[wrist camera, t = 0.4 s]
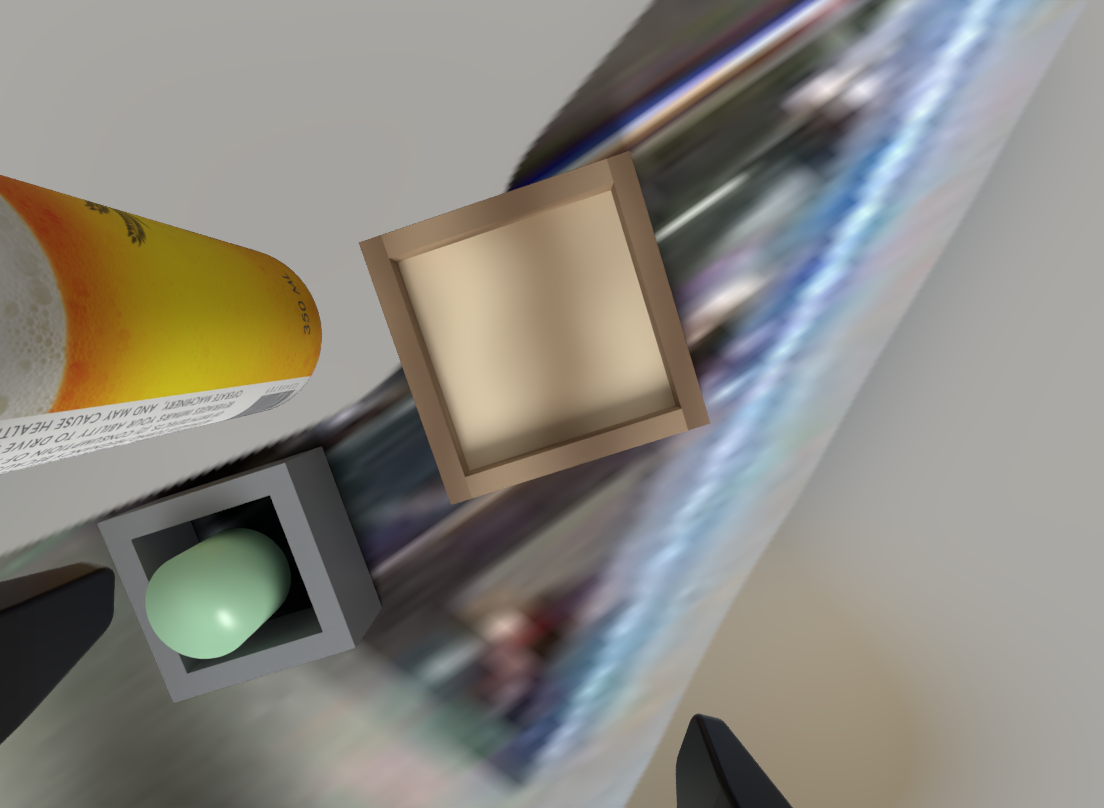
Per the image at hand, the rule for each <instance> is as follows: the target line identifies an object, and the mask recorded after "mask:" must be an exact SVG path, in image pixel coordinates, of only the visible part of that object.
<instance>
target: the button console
mask: <svg viewBox="0 0 1104 808" xmlns="http://www.w3.org/2000/svg"><path fill="white" fill-rule="evenodd" d="M269 495H270V497H271V499H272V502H273V504H274V507H275V510H276V512H277V515H278V517H279V520H280V522H281V525H282V528H283V530H284V533H285V535H286V538H287V541H288V543H289V546H290V548H291V551H292V553H293V556H294V559H295V561H296V564H297V566H298V569H299V572H300V574H301V577H302V579H303V582H304V584H305V587H306V590H307V592H308V595H309V597H310V600H311V602H312V605H313V607H310V608H307V609H304V610H300V611H297V612H294V613H291V614H287V615H284V616H281V617H278V618H274V619H271V620H268V621H265V622H264V623H263V624H262V625H261V626H260V627H259V628H258V629H257V630H256V631H255V632H254V633H253V634H252V635H251V636H250V637H249V638H248V639H247V640H245V641H244V642H243V643H242V644H241V645H240V646H239V647H238V648H237V649H235V650H234V651H232V652H230V653H228V654H226V655H224V656H221V657H217V658H210V659H199V658H192V657H189V656H185V655H183V654H180V653H178V652H176V651H174V650H173V649H171V648H170V647H168V646H167V645H166V644H165V643H164V642H163V641H162V640H161V639H160V638H159V637H158V636H157V635H156V633H155V632H154V630H153V629H152V627H151V625H150V623H149V620H148V617H147V613H146V607H145V597H146V591H147V587H148V584H149V582H150V580H151V578H152V576H153V575H154V573H155V572H156V571H157V570H158V569H159V567H160V566H161V565H163V564H164V563H165V562H167V561H168V560H170V559H172V558H174V557H176V556H177V555H179V554H181V553H183V552H184V551H186V550H188V549H190V548H191V547H193V546H195V545H197V544H199V540H198V538H197V535H196V533H195V530H194V528H193V525H192V523H191V520H194V519H197V518H200V517H203V516H206V515H210V514H213V513H216V512H219V511H222V510H225V509H228V508H231V507H235V506H238V505H241V504H244V503H247V502H250V501H253V500H256V499H260V498H263V497H266V496H269ZM97 524H98V527H99V529H100V532H101V534H102V536H103V539H104V541H105V543H106V546H107V548H108V550H109V553H110V555H111V557H112V560H113V562H114V565H115V567H116V569H117V572H118V574H119V576H120V579H121V581H122V583H123V586H124V588H125V590H126V593H127V595H128V598H129V600H130V602H131V605H132V607H133V609H134V612H135V614H136V616H137V619H138V621H139V623H140V626H141V628H142V631H143V633H144V635H145V638H146V640H147V642H148V645H149V647H150V649H151V652H152V654H153V656H154V659H155V661H156V664H157V666H158V668H159V671H160V673H161V675H162V678H163V680H164V682H165V685H166V687H167V690H168V692H169V694H170V697H171V699H172V701H173V703H176V702H179V701H183V700H186V699H189V698H193V697H196V696H199V695H202V694H206V693H209V692H212V691H216V690H219V689H222V688H225V687H229V686H232V685H235V684H239V683H242V682H245V681H248V680H252V679H255V678H258V677H262V676H265V675H268V674H271V673H275V672H278V671H281V670H284V669H288V668H291V667H294V666H298V665H301V664H304V663H307V662H311V661H314V660H317V659H321V658H324V657H327V656H330V655H334V654H337V653H340V652H344V651H347V650H350V649H353V648H356V646H357V645H358V643H359V642H360V640H361V639H362V637H363V636H364V634H365V633H366V631H367V630H368V628H369V627H370V625H371V624H372V622H373V621H374V619H375V618H376V616H377V615H378V613H379V612H380V610H381V609H382V606H381V603H380V601H379V598H378V595H377V593H376V590H375V587H374V585H373V582H372V579H371V577H370V574H369V571H368V569H367V566H366V563H365V561H364V558H363V555H362V553H361V550H360V547H359V545H358V542H357V539H356V537H355V534H354V531H353V528H352V526H351V523H350V520H349V518H348V515H347V512H346V510H345V507H344V504H343V502H342V499H341V496H340V494H339V491H338V488H337V486H336V483H335V480H334V478H333V475H332V472H331V470H330V467H329V464H328V462H327V459H326V456H325V454H324V451H323V448H322V446H321V447H318V448H315V449H312V450H309V451H306V452H303V453H299V454H296V455H293V456H290V457H287V458H284V459H281V460H278V461H275V462H272V463H269V464H265V465H262V466H259V467H256V468H253V469H250V470H247V471H244V472H241V473H238V474H234V475H231V476H228V477H225V478H222V479H219V480H216V481H213V482H210V483H207V484H204V485H200V486H197V487H194V488H191V489H188V490H185V491H182V492H179V493H176V494H173V495H169V496H166V497H163V498H160V499H157V500H155V501H152V502H150V503H147V504H145V505H142V506H140V507H137V508H135V509H132V510H130V511H127V512H125V513H122V514H120V515H117V516H114V517H112V518H109V519H107V520H104V521H102V522H99V523H97Z"/></svg>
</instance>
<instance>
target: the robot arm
mask: <svg viewBox="0 0 1104 808" xmlns="http://www.w3.org/2000/svg"><path fill="white" fill-rule="evenodd" d="M114 587H115V575H114V573H113V571H112V570H111V569H110V568H108V567H105V566H101V565H97V564H93V563H88V562H80V563H76V564H72V565H67V566H63V567H59V568H55V569H51V570H47V571H43V572H39V573H35V574H31V575H27V576H23V577H18V578H14V579H10V580H6V581H2V582H0V744H1V743H2V742H4V741H5V740H6V739H7V738H8V737H9V736H10V735H11V734H12V733H13V732H14V731H15V730H16V729H17V728H18V727H19V726H20V725H21V724H22V723H23V721H24V720H25V719H26V718H27V717H28V716H29V715H30V714H31V713H32V712H33V711H34V710H35V709H36V708H37V707H38V706H39V704H40V703H41V702H42V701H43V700H44V699H45V698H46V697H47V696H48V694H49V693H50V692H51V691H52V690H53V689H54V688H55V687H56V686H57V684H58V683H59V682H60V681H61V680H62V679H63V678H64V677H65V676H66V674H67V673H68V672H69V671H70V670H71V669H72V668H73V667H74V666H75V664H76V663H77V662H78V661H79V660H80V659H81V658H82V657H83V656H84V655H85V653H86V652H87V651H88V650H89V649H90V648H91V647H92V646H93V645H94V643H95V642H96V641H97V640H98V639H99V638H100V637H101V636H102V635H103V633H104V632H105V631H106V630H107V628H108V626H109V625H110V623H111V621H112V618H113V613H114ZM676 793H677V808H793V807H792V806H791V805H790V804H789V802H788V801H787V800H786V799H785V797H784V796H783V795H782V794H781V792H780V791H779V790H778V789H777V787H776V786H775V785H774V784H773V782H772V781H771V780H770V779H769V777H768V776H767V775H766V774H765V772H764V771H763V770H762V769H761V767H760V766H759V765H758V763H757V762H756V761H755V760H754V759H753V757H752V756H751V755H750V754H749V752H748V751H747V750H746V749H745V747H744V746H743V745H742V743H741V742H740V741H739V740H738V738H737V737H736V736H735V735H734V734H733V732H732V731H731V730H730V729H729V727H728V726H727V725H726V724H725V723H724V721H722V720H721V719H719V718H715V717H711V716H707V715H703V714H696V715H694V716H693V717H692V719H691V721H690V723H689V726H688V729H687V732H686V734H685V737H684V740H683V743H682V746H681V748H680V751H679V754H678V757H677V763H676Z"/></svg>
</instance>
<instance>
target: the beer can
mask: <svg viewBox="0 0 1104 808" xmlns="http://www.w3.org/2000/svg"><path fill="white" fill-rule="evenodd" d="M321 342H322V329H321V322H320V317H319V313H318V310H317V307H316V304H315V301H314V299H313V297H312V295H311V293H310V292H309V290H308V289H307V287H306V285H305V284H304V283H303V282H302V280H301V279H300V278H299V277H298V276H297V275H296V274H295V273H294V272H293V271H292V270H291V269H290V268H288V267H287V266H286V265H285V264H283V263H282V262H280V261H278V260H277V259H275V258H273V257H271V256H269V255H267V254H264V253H261V252H258V251H254V250H252V249H248V248H245V247H241V246H238V245H235V244H231V243H228V242H224V241H221V240H218V239H214V238H211V237H207V236H204V235H201V234H198V233H194V232H191V231H188V230H184V229H180V228H177V227H174V226H171V225H167V224H164V223H160V222H157V221H154V220H150V219H147V218H144V217H140V216H137V215H134V214H130V213H127V212H124V211H120V210H117V209H113V208H110V207H107V206H103V205H100V204H96V203H93V202H90V201H86V200H83V199H79V198H76V197H72V196H70V195H66V194H63V193H59V192H56V191H53V190H49V189H46V188H42V187H39V186H36V185H33V184H29V183H25V182H22V181H19V180H16V179H12V178H9V177H5V176H2V175H0V474H3V473H8V472H11V471H16V470H20V469H24V468H28V467H32V466H37V465H41V464H45V463H49V462H54V461H58V460H62V459H66V458H70V457H75V456H79V455H83V454H87V453H91V452H95V451H99V450H103V449H108V448H112V447H116V446H120V445H124V444H129V443H133V442H137V441H141V440H145V439H149V438H154V437H158V436H162V435H166V434H170V433H174V432H179V431H183V430H187V429H191V428H195V427H200V426H204V425H208V424H212V423H216V422H221V421H225V420H229V419H233V418H237V417H241V416H246V415H250V414H253V413H258V412H262V411H266V410H270V409H272V408H275V407H277V406H279V405H281V404H283V403H285V402H287V401H288V400H289V399H291V398H292V397H293V396H295V395H296V394H297V393H298V392H299V391H300V390H301V389H302V388H303V387H304V385H305V384H306V383H307V381H308V380H309V378H310V377H311V375H312V373H313V371H314V369H315V367H316V364H317V361H318V359H319V355H320V350H321Z"/></svg>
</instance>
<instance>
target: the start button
mask: <svg viewBox="0 0 1104 808" xmlns="http://www.w3.org/2000/svg"><path fill="white" fill-rule="evenodd" d="M290 585H291V572H290V567H289V563H288V561H287V558H286V556H285V554H284V553H283V551H282V550H281V549H280V547H279V546H278V545H277V544H276V543H275V542H274V541H273V540H272V539H270V538H269V537H268V536H266V535H264V534H262V533H260V532H258V531H255V530H251V529H246V528H232V529H227V530H223V531H221V532H218V533H216V534H215V535H213V536H211V537H209V538H207V539H206V540H204V541H202V542H200V543H199V544H197V545H195V546H193V547H191V548H190V549H188V550H186V551H184V552H183V553H181V554H179V555H177V556H176V557H174V558H172V559H170V560H168V561H167V562H165V563H164V564H163V565H161V566H160V567H159V569H158V570H157V571H156V572H155V573H154V575H153V576H152V578H151V580H150V582H149V584H148V587H147V591H146V597H145V607H146V613H147V617H148V620H149V623H150V625H151V627H152V629H153V630H154V632H155V633H156V635H157V636H158V637H159V638H160V639H161V640H162V641H163V642H164V643H165V644H166V645H167V646H168V647H170V648H171V649H173V650H174V651H176V652H178V653H180V654H183V655H185V656H189V657H192V658H199V659H210V658H217V657H221V656H224V655H226V654H228V653H230V652H232V651H234V650H235V649H237V648H238V647H239V646H240V645H241V644H242V643H243V642H244V641H245V640H247V639H248V638H249V637H250V636H251V635H252V634H253V633H254V632H255V631H256V630H257V629H258V628H259V627H260V626H261V625H262V624H263V623H264V622H265V621H266V620H267V619H268V618H269V617H271V616H272V615H273V614H274V613H275V612H276V611H277V610H278V609H279V608H280V607H281V605H282V604H283V603H284V601H285V599H286V598H287V595H288V593H289V590H290Z"/></svg>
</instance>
